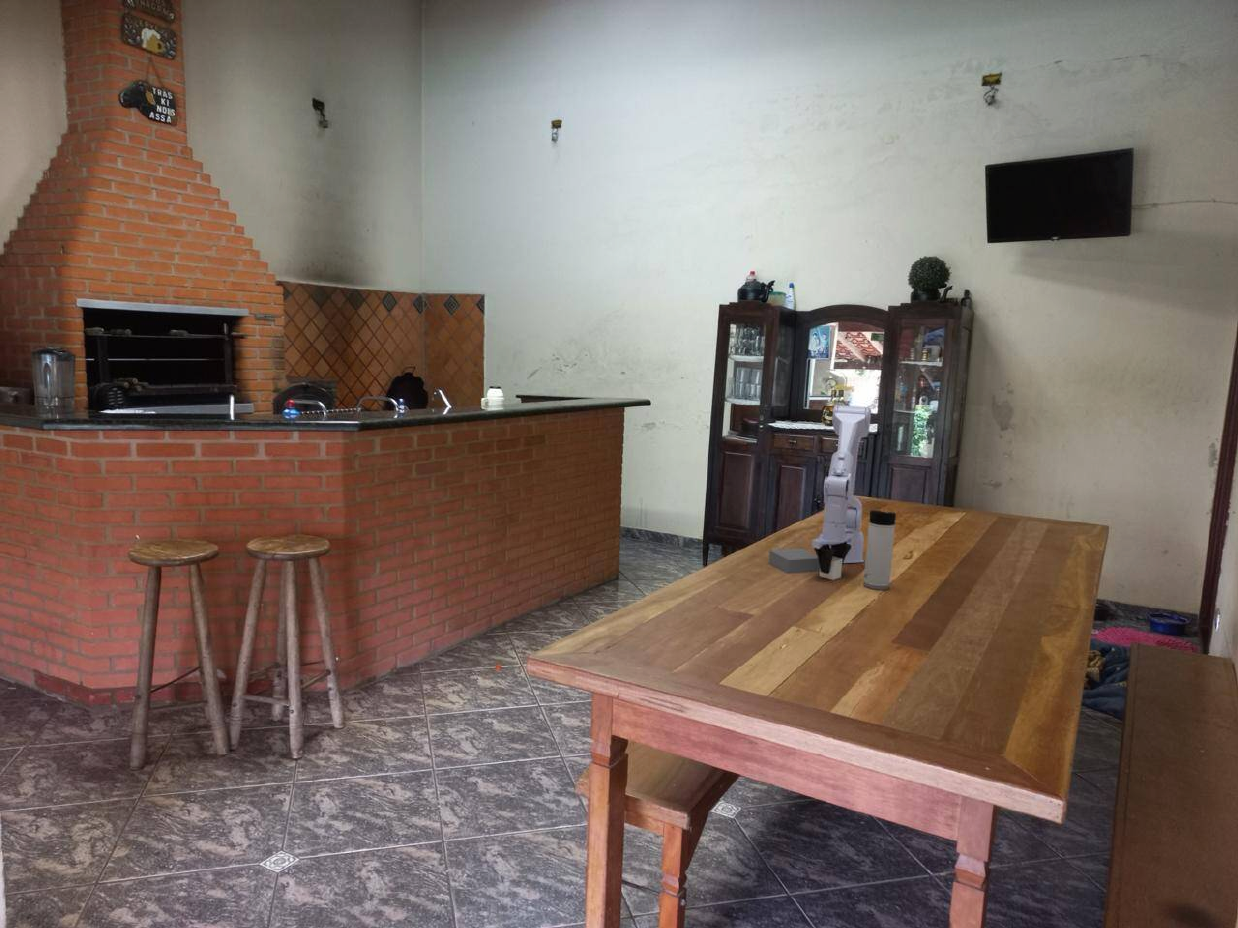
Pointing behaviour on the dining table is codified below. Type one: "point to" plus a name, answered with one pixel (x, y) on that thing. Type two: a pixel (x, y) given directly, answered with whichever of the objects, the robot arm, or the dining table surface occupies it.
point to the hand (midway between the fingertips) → (830, 571)
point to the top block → (833, 569)
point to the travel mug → (879, 550)
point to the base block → (794, 560)
